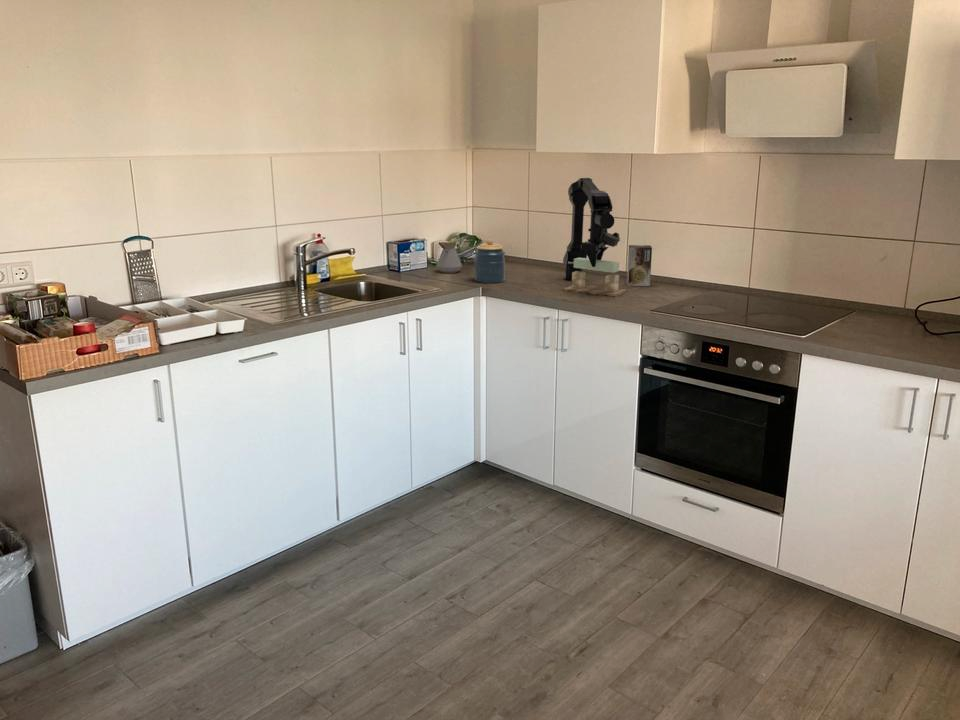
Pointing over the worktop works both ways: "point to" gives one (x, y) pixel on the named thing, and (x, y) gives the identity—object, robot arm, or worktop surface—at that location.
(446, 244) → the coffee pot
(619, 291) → the birch gate
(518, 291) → the worktop surface
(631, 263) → the coffee box
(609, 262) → the sage plank
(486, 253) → the canister
